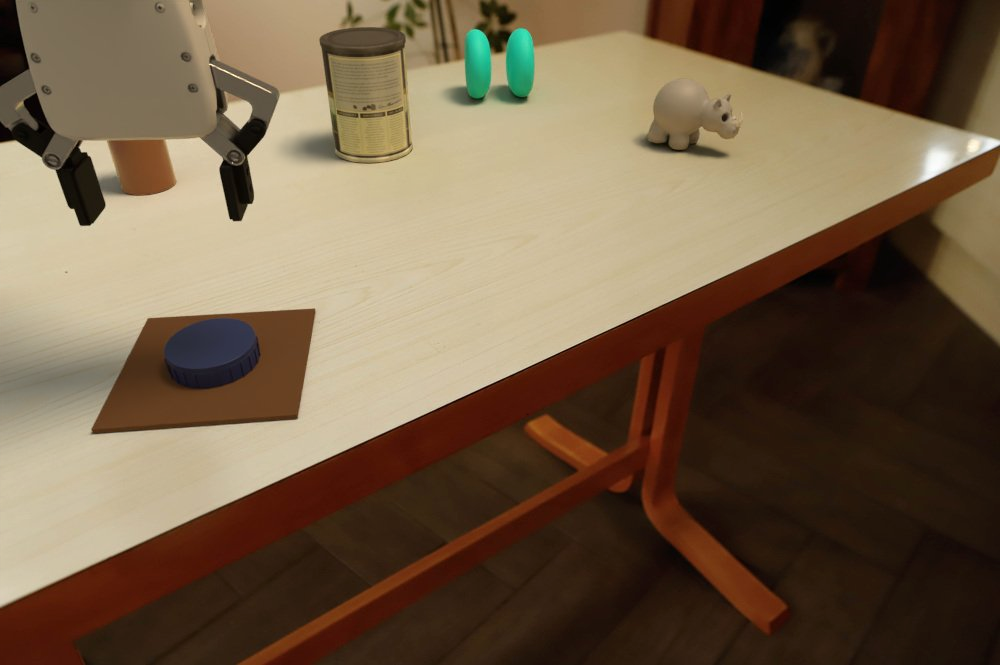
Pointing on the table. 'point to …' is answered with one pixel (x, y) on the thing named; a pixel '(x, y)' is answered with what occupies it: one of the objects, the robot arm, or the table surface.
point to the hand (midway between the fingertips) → (167, 214)
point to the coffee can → (367, 93)
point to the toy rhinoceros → (690, 114)
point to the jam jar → (142, 165)
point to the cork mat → (255, 397)
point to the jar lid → (212, 353)
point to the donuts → (516, 63)
